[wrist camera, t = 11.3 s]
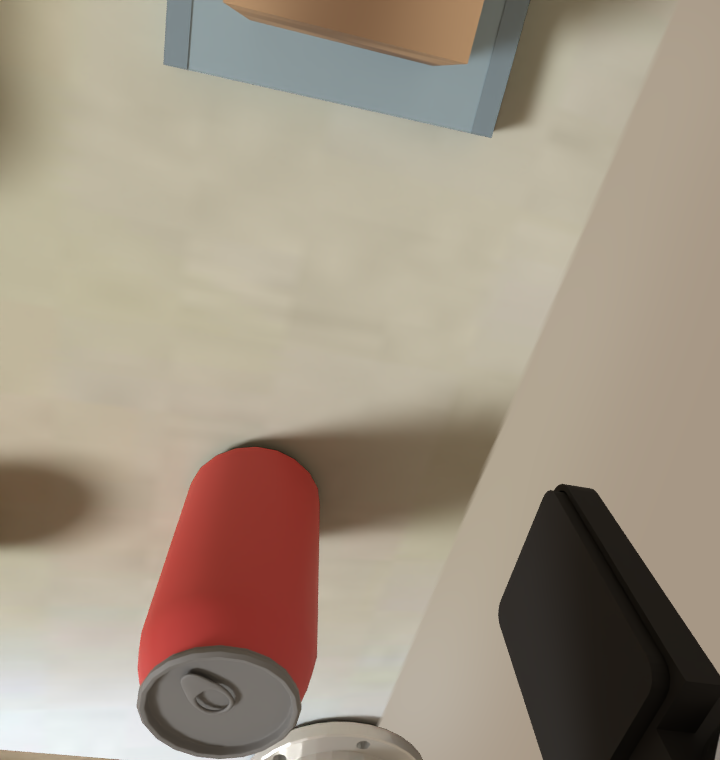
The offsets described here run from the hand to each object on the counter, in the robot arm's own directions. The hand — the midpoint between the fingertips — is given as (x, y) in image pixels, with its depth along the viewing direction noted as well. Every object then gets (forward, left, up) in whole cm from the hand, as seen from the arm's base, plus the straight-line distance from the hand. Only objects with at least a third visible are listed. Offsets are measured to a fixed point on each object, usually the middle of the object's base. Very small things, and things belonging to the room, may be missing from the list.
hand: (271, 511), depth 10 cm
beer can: (-8, +11, -18) cm, 22 cm away
